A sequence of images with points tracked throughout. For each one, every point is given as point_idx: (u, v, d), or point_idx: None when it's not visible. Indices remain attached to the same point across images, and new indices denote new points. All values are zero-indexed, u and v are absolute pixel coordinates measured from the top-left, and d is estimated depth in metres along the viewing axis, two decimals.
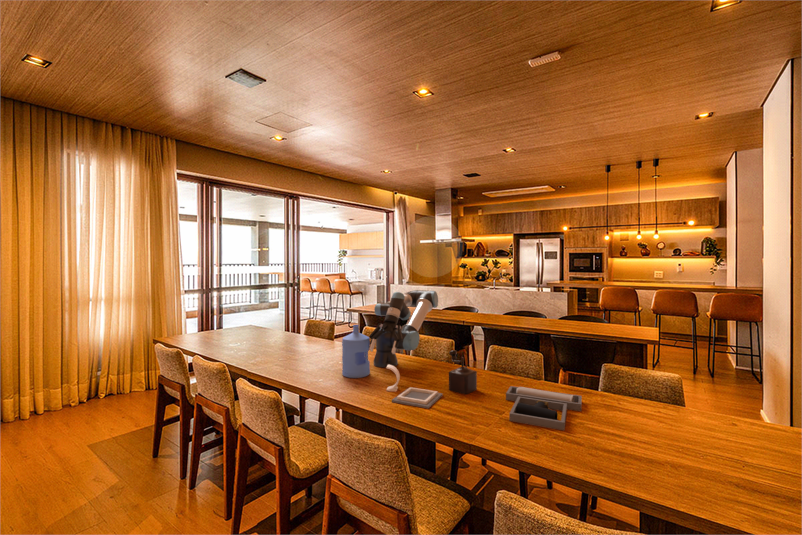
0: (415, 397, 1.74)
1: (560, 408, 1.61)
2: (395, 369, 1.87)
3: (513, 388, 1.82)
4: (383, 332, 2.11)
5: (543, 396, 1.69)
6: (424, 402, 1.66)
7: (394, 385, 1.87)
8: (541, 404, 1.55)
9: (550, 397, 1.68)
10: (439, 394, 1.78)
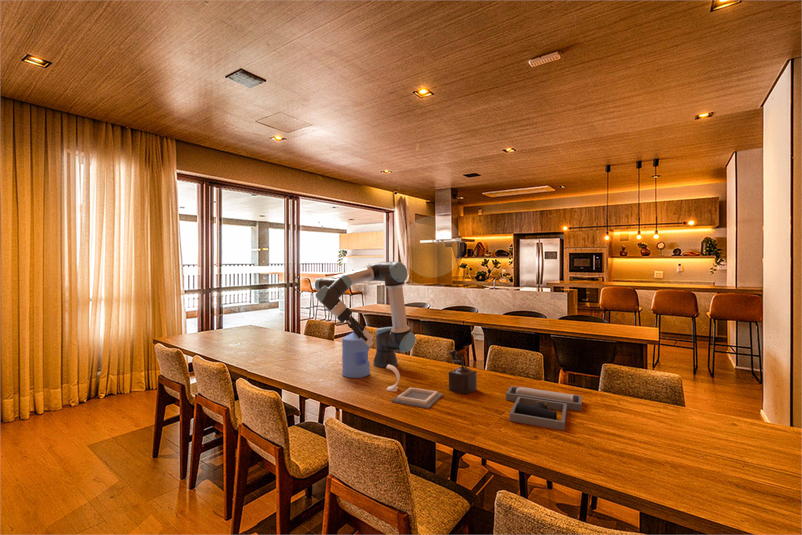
0: (415, 397, 1.74)
1: (560, 408, 1.61)
2: (395, 369, 1.87)
3: (513, 388, 1.82)
4: (356, 323, 1.89)
5: (544, 396, 1.70)
6: (424, 402, 1.66)
7: (394, 385, 1.87)
8: (540, 405, 1.55)
9: (551, 397, 1.68)
10: (439, 394, 1.78)
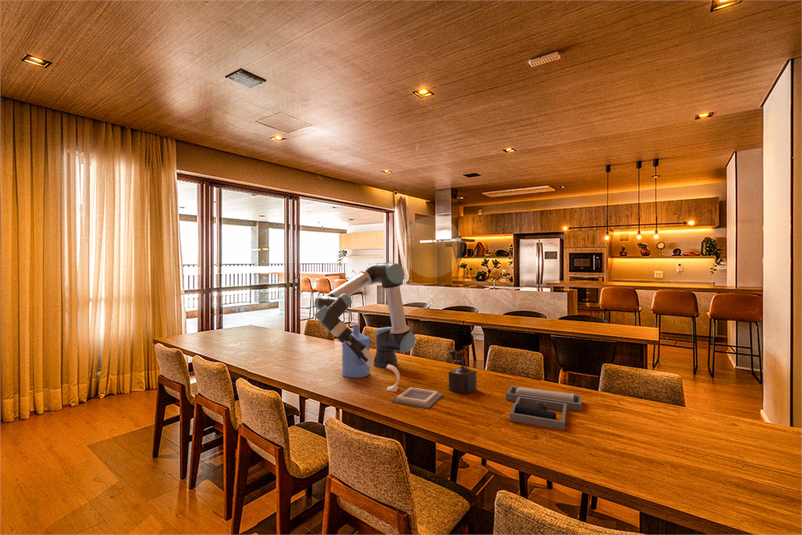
0: (415, 397, 1.74)
1: (560, 408, 1.61)
2: (395, 369, 1.87)
3: (513, 388, 1.82)
4: (356, 342, 1.89)
5: (544, 396, 1.70)
6: (424, 402, 1.66)
7: (394, 385, 1.87)
8: (540, 405, 1.54)
9: (551, 396, 1.69)
10: (439, 394, 1.78)
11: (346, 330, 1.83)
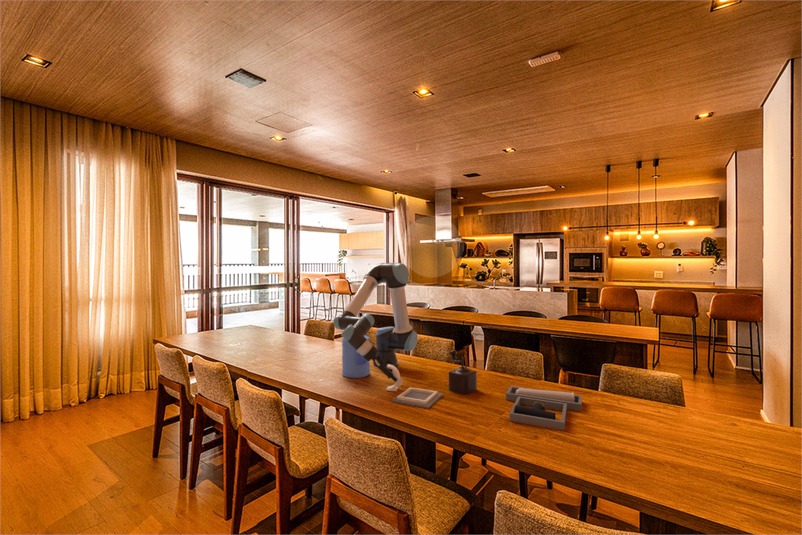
0: (415, 397, 1.74)
1: (560, 408, 1.61)
2: (395, 369, 1.88)
3: (513, 388, 1.82)
4: None
5: (545, 396, 1.70)
6: (424, 402, 1.66)
7: (394, 385, 1.87)
8: (538, 406, 1.53)
9: (552, 396, 1.69)
10: (439, 394, 1.78)
11: (372, 349, 1.84)
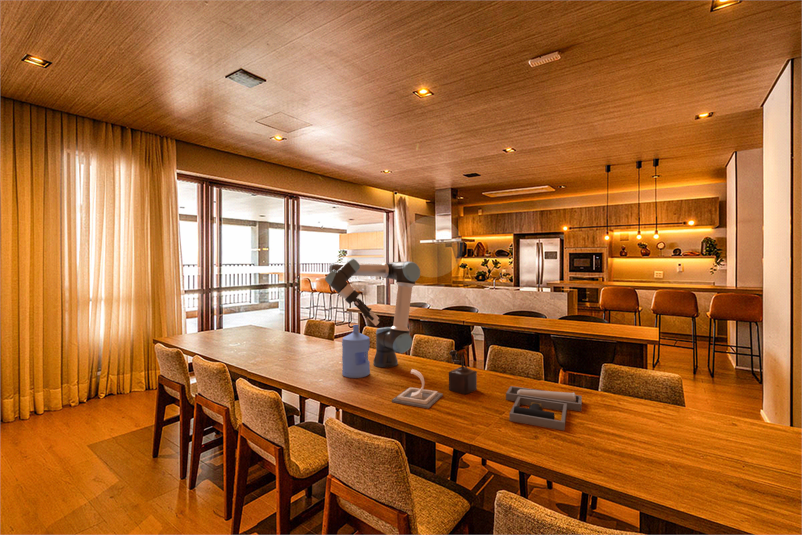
0: None
1: (560, 408, 1.61)
2: (420, 374, 1.75)
3: (513, 388, 1.82)
4: None
5: (546, 397, 1.69)
6: (424, 402, 1.66)
7: (419, 391, 1.75)
8: (537, 406, 1.53)
9: (554, 397, 1.68)
10: (439, 394, 1.78)
11: (353, 292, 1.98)
